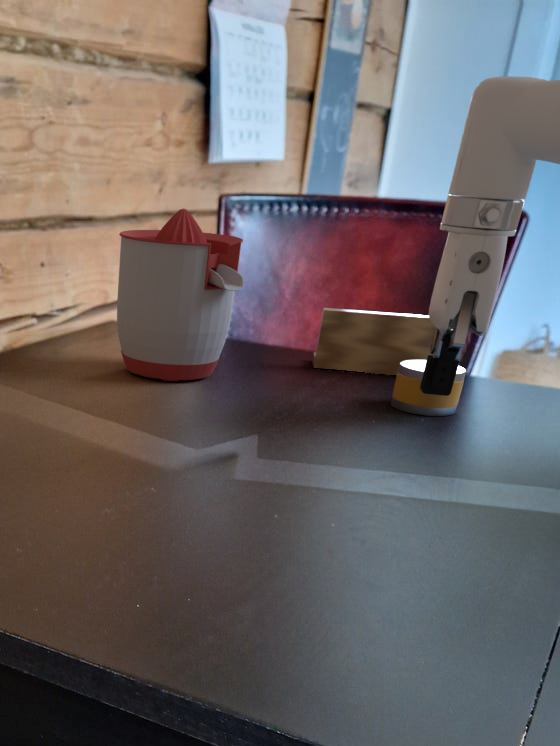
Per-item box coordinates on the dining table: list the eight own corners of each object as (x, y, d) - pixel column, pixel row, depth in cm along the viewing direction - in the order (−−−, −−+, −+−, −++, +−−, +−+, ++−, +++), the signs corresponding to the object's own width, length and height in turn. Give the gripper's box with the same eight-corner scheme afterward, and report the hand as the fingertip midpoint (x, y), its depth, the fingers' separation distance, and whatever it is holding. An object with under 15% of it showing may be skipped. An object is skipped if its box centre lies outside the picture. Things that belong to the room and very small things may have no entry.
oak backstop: (438, 371, 125) (452, 313, 120) (444, 380, 119) (460, 320, 115) (312, 360, 127) (322, 303, 123) (313, 369, 122) (324, 309, 118)
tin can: (452, 403, 108) (462, 363, 106) (459, 419, 102) (470, 376, 99) (388, 397, 110) (397, 357, 107) (392, 412, 103) (401, 369, 101)
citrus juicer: (183, 396, 106) (202, 216, 95) (87, 368, 116) (94, 203, 106) (260, 379, 115) (284, 214, 105) (164, 355, 126) (178, 203, 116)
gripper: (537, 225, 83) (482, 413, 92) (501, 215, 96) (455, 381, 105) (457, 219, 84) (410, 406, 93) (432, 210, 97) (393, 375, 106)
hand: (434, 392), depth 99 cm, fingers closed
